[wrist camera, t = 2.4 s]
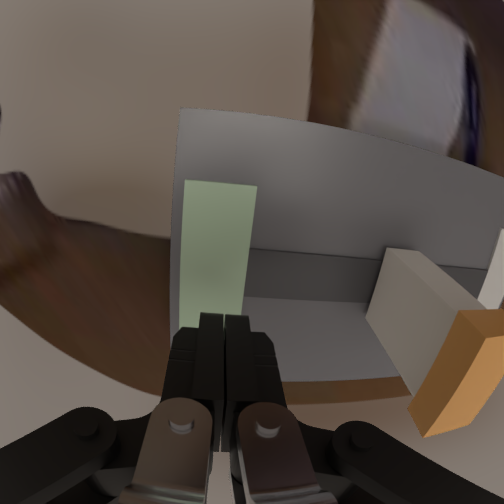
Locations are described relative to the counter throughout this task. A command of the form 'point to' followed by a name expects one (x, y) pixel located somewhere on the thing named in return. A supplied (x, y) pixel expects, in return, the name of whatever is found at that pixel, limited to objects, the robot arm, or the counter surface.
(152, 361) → the counter surface
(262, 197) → the breaker housing
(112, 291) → the counter surface
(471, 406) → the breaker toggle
